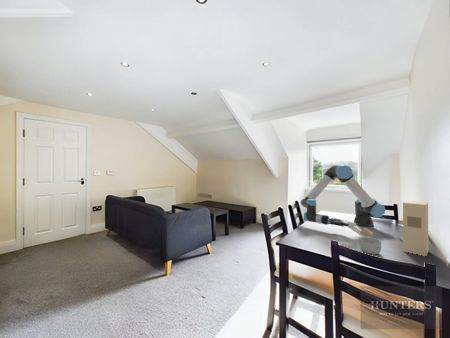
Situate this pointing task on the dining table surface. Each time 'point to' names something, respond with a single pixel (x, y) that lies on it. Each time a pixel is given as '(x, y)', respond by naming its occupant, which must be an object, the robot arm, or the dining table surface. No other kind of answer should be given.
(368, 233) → the flap strip
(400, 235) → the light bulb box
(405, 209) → the carton
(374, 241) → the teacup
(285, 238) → the dining table surface
